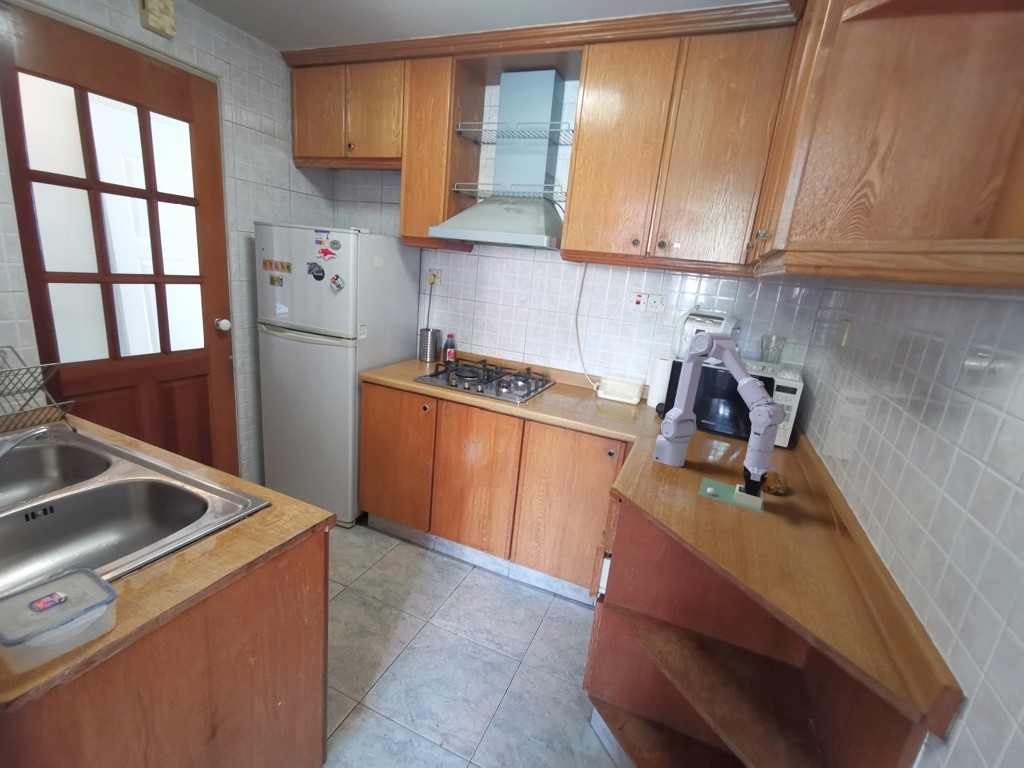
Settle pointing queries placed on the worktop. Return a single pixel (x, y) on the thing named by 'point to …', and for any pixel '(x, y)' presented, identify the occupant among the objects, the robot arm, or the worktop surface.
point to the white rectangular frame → (747, 498)
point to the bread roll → (774, 484)
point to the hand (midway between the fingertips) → (749, 496)
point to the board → (723, 493)
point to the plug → (758, 492)
